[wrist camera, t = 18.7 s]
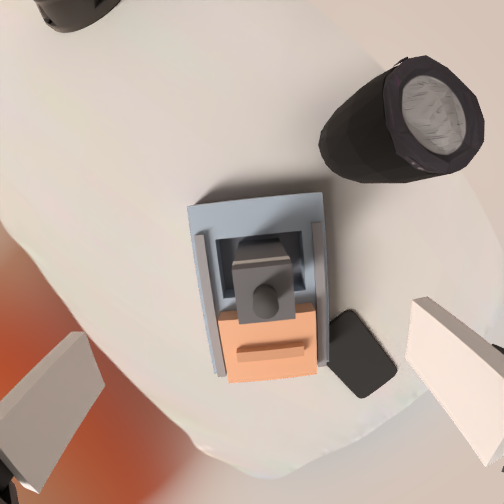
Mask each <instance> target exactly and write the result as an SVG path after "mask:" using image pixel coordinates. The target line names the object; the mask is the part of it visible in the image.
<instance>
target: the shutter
mask: <svg viewBox="0 0 504 504" xmlns="http://www.w3.org/2000/svg"><path fill="white" fill-rule="evenodd" d="M295 314H296V319H289V320H280V321H271V322H261V323H250V324H239V321H238V314H237V310H233V311H222V312H220V315H219V319H218V324H219V330H220V336H221V342H222V347H223V353H224V359H225V364H226V370H227V375H228V381H229V383H237V382H251V381H262V380H273V379H282V378H291V377H299V376H306V375H313V374H317V344H316V311H315V309H314V307H313V305H312V303H311V302H309V303H301V304H295Z"/></svg>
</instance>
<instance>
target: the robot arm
mask: <svg viewBox="0 0 504 504" xmlns="http://www.w3.org/2000/svg"><path fill="white" fill-rule="evenodd" d="M34 1H35V2H36V4H37V6H38V8H39V11H40V13H41V15H42V17H43V19H44V21H45V23H46V24H47V25H48V26H50V27H51V28H52V29H54V30H55V31H57V32H62V33H68V32H73V31H77V30H79V29H82V28H84V27H86V26H88V25H90V24H92V23H94V22H95V21H97V20H98V19H100V18H101V17H102V16H104V15H105V14H106V13H108V12H109V11H110V10H111V9H112V8H113V7H114V6H115V5H116V4H117V3H118V2H119V1H120V0H34ZM405 359H406V360H407V362H408V363H409V364H410V365H411V367H412V368H413V369H414V370H415V372H416V373H417V374H418V376H419V377H420V378H421V379H422V381H423V382H424V383H425V385H426V386H427V387H428V388H429V390H430V391H431V392H432V394H433V395H434V396H435V398H436V399H437V400H438V402H439V403H440V404H441V406H442V407H443V408H444V410H445V411H446V412H447V414H448V415H449V416H450V418H451V419H452V420H453V422H454V423H455V424H456V426H457V427H458V429H459V430H460V431H461V433H462V434H463V435H464V437H465V438H466V440H467V441H468V443H469V444H470V446H471V447H472V448H473V449H474V451H475V453H476V454H477V456H478V457H479V458H480V460H481V461H482V463H483V464H484V466H485V467H487V466H488V465H490V464H492V463H493V462H495V461H496V460H498V459H500V458H501V457H503V456H504V348H502V347H499V346H497V345H494V344H492V345H491V344H490V343H488V342H487V341H486V340H484V339H483V338H482V337H481V336H480V335H478V334H477V333H476V332H474V331H473V330H472V329H471V328H469V327H468V326H467V325H465V324H464V323H463V322H461V321H460V320H459V319H457V318H456V317H455V316H453V315H452V314H451V313H449V312H448V311H447V310H445V309H444V308H443V307H441V306H440V305H438V304H437V303H436V302H434V301H433V300H432V299H430V298H429V297H423V298H418V299H413V300H412V305H411V316H410V326H409V335H408V342H407V350H406V356H405ZM104 386H105V384H104V381H103V379H102V376H101V374H100V371H99V369H98V366H97V364H96V361H95V359H94V356H93V353H92V350H91V347H90V345H89V342H88V339H87V336H86V333H85V332H71V333H70V334H69V335H67V336H66V338H64V339H63V340H62V341H61V342H60V343H59V344H58V345H57V346H56V347H55V348H54V349H53V350H52V351H50V352H49V353H48V354H47V355H46V356H45V357H44V358H43V359H42V360H41V361H40V362H39V363H38V364H37V365H36V366H35V367H34V368H33V369H32V370H31V371H30V372H29V373H28V374H27V375H26V376H25V377H24V378H23V379H22V380H21V381H20V382H19V383H18V384H17V385H16V386H15V387H14V388H13V389H12V390H11V391H10V392H9V393H8V394H7V395H6V396H5V397H4V398H3V399H2V400H1V401H0V504H19V502H18V497H17V491H16V487H15V485H14V483H13V482H12V481H11V479H12V478H13V476H15V478H16V479H17V480H18V481H19V482H20V483H21V484H22V485H23V487H25V488H28V489H30V490H32V491H34V492H36V493H38V494H39V493H40V491H41V489H42V488H43V485H44V484H45V482H46V481H47V479H48V477H49V475H50V474H51V472H52V470H53V468H54V467H55V465H56V463H57V462H58V460H59V458H60V457H61V455H62V453H63V452H64V450H65V448H66V446H67V445H68V443H69V442H70V440H71V439H72V437H73V435H74V433H75V432H76V430H77V429H78V427H79V426H80V424H81V422H82V421H83V419H84V418H85V416H86V414H87V413H88V411H89V410H90V408H91V407H92V405H93V404H94V402H95V400H96V399H97V397H98V396H99V394H100V392H101V391H102V390H103V388H104ZM502 472H504V466H503V469H502Z"/></svg>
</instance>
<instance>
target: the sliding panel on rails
mask: <svg viewBox="0 0 504 504" xmlns="http://www.w3.org/2000/svg"><path fill="white" fill-rule="evenodd" d="M187 211H188V219H189V226H190V233H191V241H192V248H193V254H194V261H195V268H196V274H197V280H198V287H199V293H200V299H201V304H202V310H203V316H204V321H205V327H206V332H207V338H208V343H209V348H210V353H211V358H212V363H213V368H214V373H217V375H218V377H225V376H226V374H227V370H226V364H225V359H224V353H223V347H222V342H221V336H220V330H219V324H218V319H219V315H220V312H222V311H233V310H237V306H236V299H235V291H234V284H233V276H232V267H233V266H232V264H233V261H234V259H235V256H236V252H237V248H238V244H239V242H244V241H254V240H263V239H273V238H279V239H280V241H281V243H282V245H283V247H284V249H285V251H286V253H287V255H288V256H289V257H290V261H291V263H292V270H293V284H294V298H295V304H301V303H309V302H311V303H312V305H313V307H314V309H315V311H316V344H317V365H318V367H322V366H326V362H329V296H328V268H327V248H326V232H325V218H324V205H323V194H322V192H307V193H296V194H284V195H274V196H264V197H254V198H245V199H236V200H227V201H219V202H211V203H203V204H195V205H191V206H187Z"/></svg>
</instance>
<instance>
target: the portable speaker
mask: <svg viewBox="0 0 504 504" xmlns="http://www.w3.org/2000/svg"><path fill="white" fill-rule="evenodd" d="M401 62H402V63H401ZM399 63H401V64H400V65H399V66H396V67H393V68H392V69H390V70H388V71H386V72H384V73H383V74H381V75H379V76H377V77H376V78H374V79H373V80H371V81H370V82H369V83H367V84H366V85H364V86H363V87H362V88H360V89H359V90H358V91H357V92H356V93H355V94H354V95H352V96H351V97H350V98H349V99H348V100H347V101H346V102H345V103H344V104H342V105H341V106H340V107H339V108H338V109H337V110H336V111H335V112H334V114H333V115H332V116H331V118H330V119H329V120H328V122H327V123H326V124H325V126H324V128H323V130H322V131H321V135H320V140H319V149H320V152H321V156H322V158H323V159H324V161H325V164H326V165H327V166H328V167H329V168H330V169H331V170H332V171H333V172H334V173H336V174H338V175H339V176H341V177H343V178H346V179H349V180H353V181H356V182H360V183H408V182H413V181H417V180H422V179H427V178H432V177H436V176H441V175H446V174H451V173H454V172H457V171H459V170H461V169H463V168H464V167H466V166H467V165H468V163H469V162H470V161H471V160H472V158H473V157H474V156H475V155H476V153H477V152H478V151H479V149H480V147H481V146H482V144H483V142H484V118H483V115H482V112H481V109H480V106H479V103H478V100H477V98H476V96H475V95H474V94H473V93H472V91H471V90H470V89H469V88H468V87H467V86H466V85H464V83H463V82H462V81H461V80H460V79H459V78H458V77H457V76H455V74H453V73H452V72H451V71H450V70H449V69H448V68H447V67H445V66H443V65H442V64H440V63H439V62H437V61H435V60H433V59H431V58H430V57H428V56H426V55H425V56H420V57H414V58H409V59H408V57H406V58H404V59H402V60H400V61H399V62H398V63H397V64H399ZM397 64H396V65H397Z"/></svg>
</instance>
